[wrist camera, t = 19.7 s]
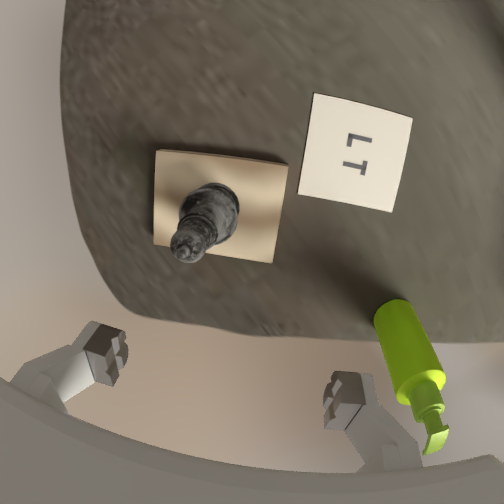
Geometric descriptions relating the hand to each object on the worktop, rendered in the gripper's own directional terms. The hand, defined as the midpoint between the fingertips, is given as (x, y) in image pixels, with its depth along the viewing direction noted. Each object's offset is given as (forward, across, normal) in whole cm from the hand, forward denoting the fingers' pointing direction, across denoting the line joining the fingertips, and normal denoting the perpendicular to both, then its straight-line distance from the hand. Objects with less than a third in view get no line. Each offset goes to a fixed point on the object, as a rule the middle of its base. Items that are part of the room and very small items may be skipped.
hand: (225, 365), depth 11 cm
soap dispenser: (+25, -20, +14) cm, 35 cm away
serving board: (+24, +5, +2) cm, 25 cm away
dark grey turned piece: (+23, +5, +2) cm, 24 cm away
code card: (+25, -9, -6) cm, 27 cm away
